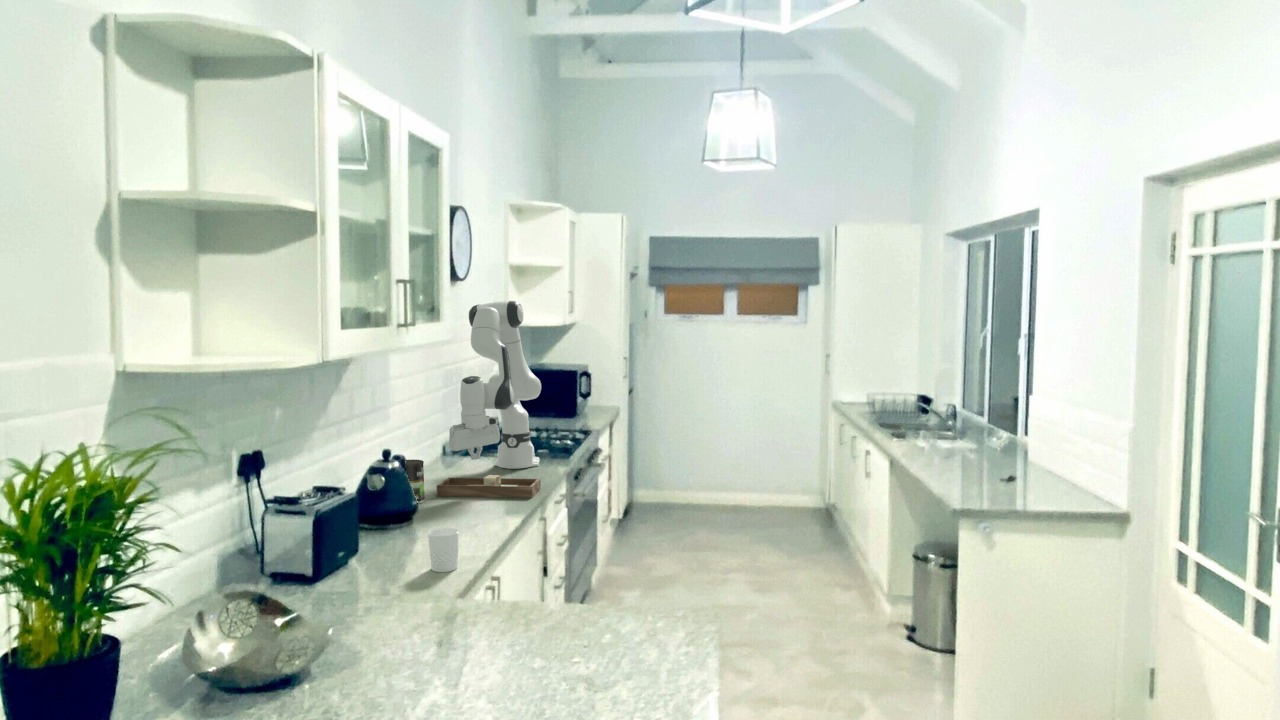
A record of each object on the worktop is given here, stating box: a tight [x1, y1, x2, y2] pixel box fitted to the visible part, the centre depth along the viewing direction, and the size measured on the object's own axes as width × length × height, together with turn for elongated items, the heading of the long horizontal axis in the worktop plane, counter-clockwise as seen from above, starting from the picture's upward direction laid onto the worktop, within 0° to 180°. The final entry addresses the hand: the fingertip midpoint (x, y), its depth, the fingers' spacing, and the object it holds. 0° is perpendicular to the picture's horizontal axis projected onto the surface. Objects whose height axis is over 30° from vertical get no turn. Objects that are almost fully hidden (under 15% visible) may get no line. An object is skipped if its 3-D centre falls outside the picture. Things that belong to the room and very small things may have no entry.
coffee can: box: [404, 459, 426, 505], centre depth 308 cm, size 10×10×14 cm
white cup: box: [427, 527, 459, 573], centre depth 234 cm, size 8×8×10 cm
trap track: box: [436, 477, 541, 499], centre depth 320 cm, size 13×35×4 cm, turn 84°
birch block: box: [483, 474, 502, 486], centre depth 318 cm, size 4×4×4 cm
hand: (475, 459), depth 320 cm, fingers closed
